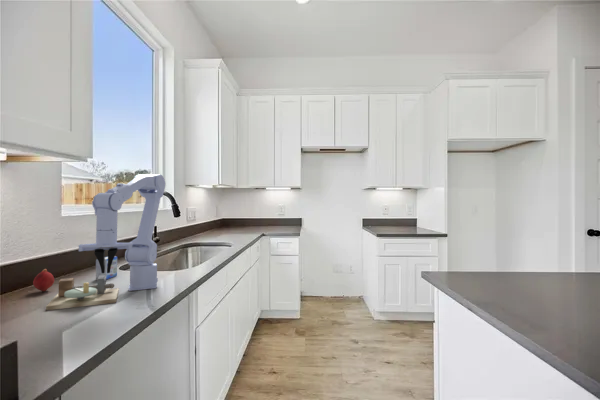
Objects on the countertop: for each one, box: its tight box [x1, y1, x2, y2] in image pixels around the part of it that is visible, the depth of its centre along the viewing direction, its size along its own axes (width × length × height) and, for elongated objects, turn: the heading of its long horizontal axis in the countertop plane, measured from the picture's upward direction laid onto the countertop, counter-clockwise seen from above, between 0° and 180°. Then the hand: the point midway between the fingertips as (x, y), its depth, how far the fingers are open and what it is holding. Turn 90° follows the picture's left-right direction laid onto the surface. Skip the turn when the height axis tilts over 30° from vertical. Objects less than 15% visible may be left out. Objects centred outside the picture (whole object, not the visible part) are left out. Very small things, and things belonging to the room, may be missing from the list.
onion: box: [32, 268, 55, 292], centre depth 112 cm, size 6×6×8 cm
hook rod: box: [57, 277, 115, 297], centre depth 106 cm, size 16×4×5 cm, turn 117°
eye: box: [96, 275, 107, 295], centre depth 108 cm, size 2×6×5 cm, turn 27°
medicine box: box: [95, 255, 118, 281], centre depth 134 cm, size 8×4×9 cm, turn 179°
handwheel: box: [64, 282, 97, 300], centre depth 100 cm, size 8×8×6 cm
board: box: [45, 287, 120, 311], centre depth 103 cm, size 18×14×1 cm
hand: (105, 272), depth 100 cm, fingers closed
